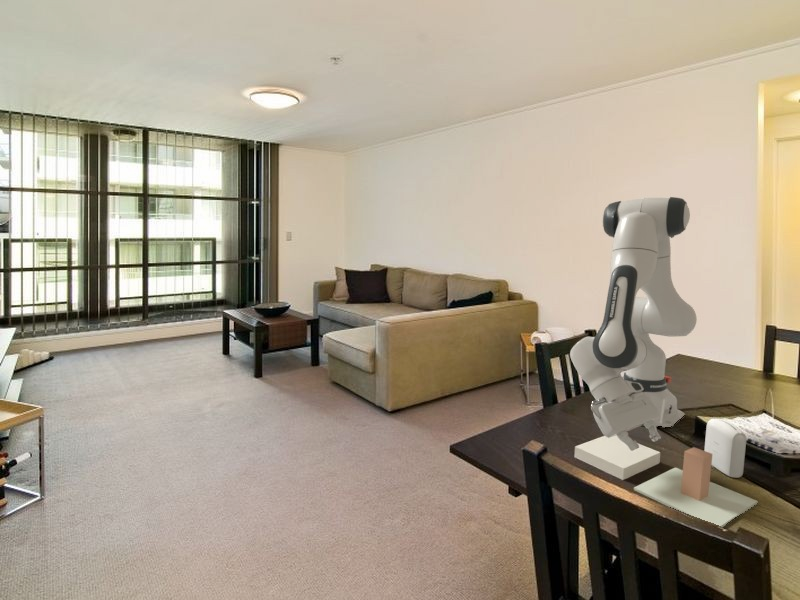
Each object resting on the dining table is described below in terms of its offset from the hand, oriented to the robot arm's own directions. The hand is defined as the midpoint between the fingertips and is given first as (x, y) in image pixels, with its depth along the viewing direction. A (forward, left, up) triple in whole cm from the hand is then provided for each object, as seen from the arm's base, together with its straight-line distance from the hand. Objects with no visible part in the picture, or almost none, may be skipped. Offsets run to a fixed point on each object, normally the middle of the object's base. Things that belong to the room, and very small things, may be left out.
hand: (646, 444), depth 118 cm
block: (0, +12, -7) cm, 14 cm away
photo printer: (-20, +9, -8) cm, 23 cm away
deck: (-1, -8, -8) cm, 11 cm away
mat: (0, +12, -8) cm, 14 cm away
